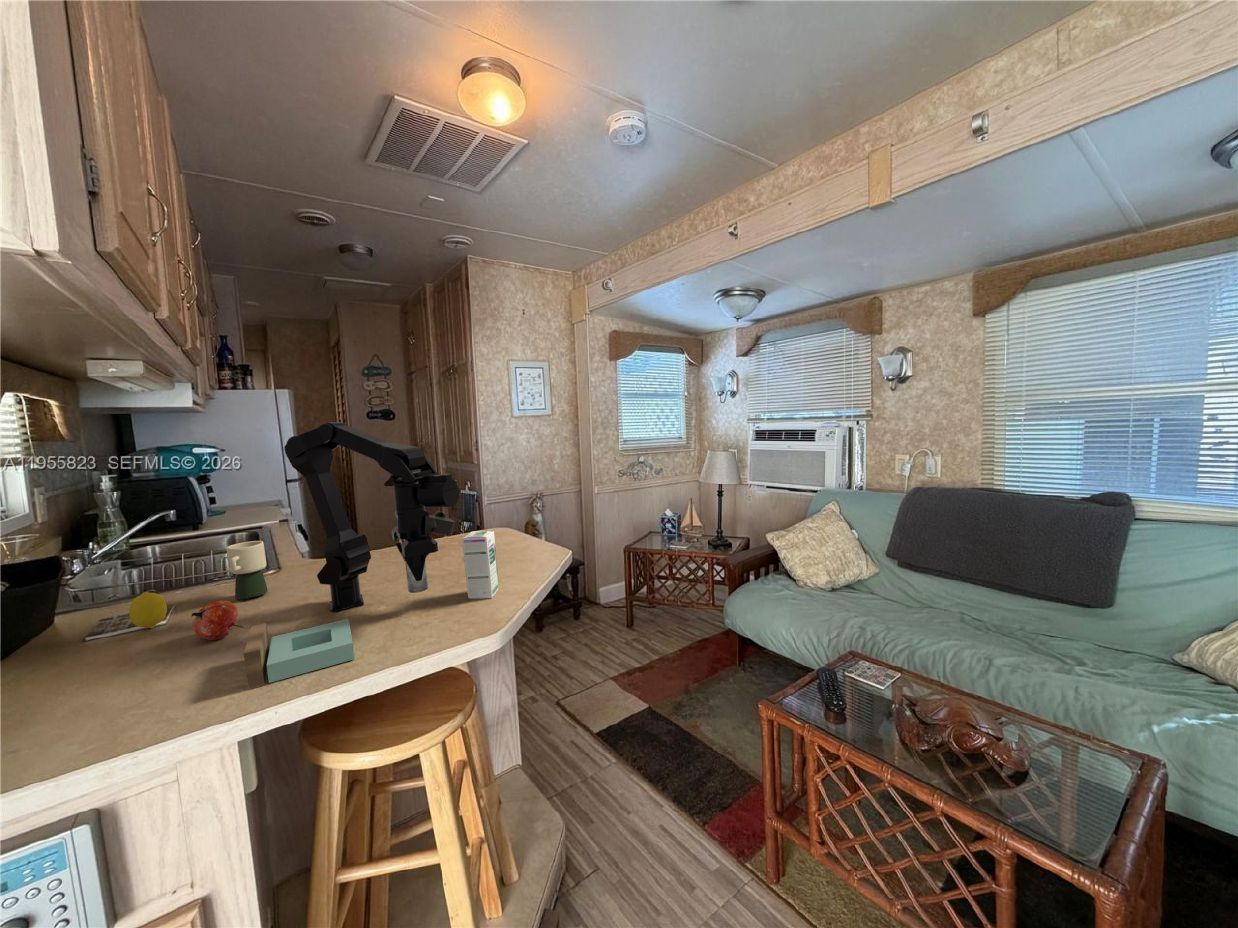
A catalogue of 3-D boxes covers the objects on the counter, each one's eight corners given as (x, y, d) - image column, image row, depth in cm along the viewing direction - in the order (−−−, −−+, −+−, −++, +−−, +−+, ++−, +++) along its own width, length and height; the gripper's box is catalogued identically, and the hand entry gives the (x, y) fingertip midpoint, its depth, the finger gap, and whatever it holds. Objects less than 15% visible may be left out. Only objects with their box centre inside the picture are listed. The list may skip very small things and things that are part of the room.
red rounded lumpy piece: (226, 637, 98) (171, 625, 91) (250, 604, 100) (198, 589, 93) (238, 650, 94) (181, 638, 86) (262, 615, 96) (209, 601, 89)
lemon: (175, 624, 100) (170, 588, 99) (142, 636, 95) (136, 598, 94) (159, 621, 102) (153, 585, 101) (125, 633, 97) (119, 595, 96)
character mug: (249, 589, 119) (243, 539, 118) (280, 587, 120) (274, 537, 119) (220, 607, 109) (212, 552, 107) (254, 604, 110) (247, 549, 108)
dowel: (406, 588, 102) (403, 552, 102) (426, 584, 105) (422, 549, 104) (409, 594, 99) (406, 557, 98) (429, 589, 101) (426, 553, 100)
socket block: (274, 652, 85) (272, 636, 85) (350, 633, 92) (348, 618, 92) (268, 682, 75) (266, 665, 75) (354, 659, 82) (352, 642, 81)
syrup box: (492, 598, 107) (488, 536, 105) (466, 599, 107) (461, 537, 106) (499, 589, 113) (495, 529, 111) (474, 589, 113) (470, 530, 111)
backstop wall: (256, 658, 84) (252, 625, 83) (270, 654, 85) (266, 622, 84) (248, 689, 74) (243, 653, 73) (264, 685, 75) (259, 649, 74)
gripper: (460, 507, 96) (466, 581, 98) (440, 495, 112) (445, 559, 114) (401, 516, 90) (408, 594, 92) (388, 502, 106) (395, 569, 108)
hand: (417, 577), depth 102 cm, fingers closed on dowel, 4 cm apart
